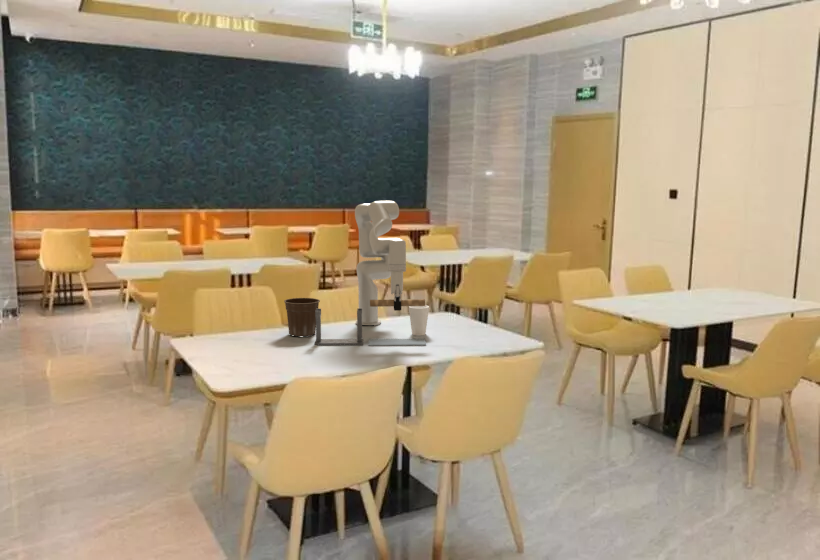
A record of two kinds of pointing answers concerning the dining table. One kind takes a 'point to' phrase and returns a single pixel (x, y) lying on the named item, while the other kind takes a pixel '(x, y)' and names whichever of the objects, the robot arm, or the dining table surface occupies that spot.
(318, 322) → the cradle stands
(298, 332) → the plant pot
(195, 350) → the dining table surface
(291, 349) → the dining table surface
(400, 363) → the dining table surface
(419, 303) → the oak dowel
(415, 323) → the foam cup
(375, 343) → the slate mat
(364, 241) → the robot arm
